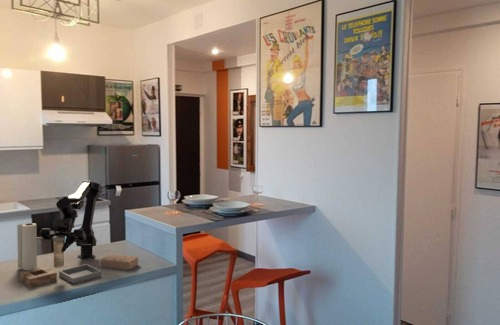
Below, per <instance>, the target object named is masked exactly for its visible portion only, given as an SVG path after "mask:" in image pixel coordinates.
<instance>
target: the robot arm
mask: <svg viewBox="0 0 500 325" xmlns="http://www.w3.org/2000/svg"><path fill="white" fill-rule="evenodd" d="M102 190H103V187H102V185H101V184H100V183H97V182H94V180H82V182H81V184H80V186H79V187H78V188H77V190H76V191H75V192H74V193H73V194H69V195H68V196H63V197H62V198H60V199H59V200H58V201H57V202H56V204H55V206H56V208H57V210H58V211H59V212H60V214H61V215H62V217H61V219H60V218H54V220H53V226H52V227H54V228H55V230H52V229H51V228H47V227H45V228H41V229H40V230H39V235H40V236H41V238H42V239H43V240H46V241H47V240H48V241H50V244H51V245H50V246H51V252H52V253H54V241H53V237H54V236H65V239H64V240H65V241H64V246H63V248H62V252H64V253H65V251H66V250H68V248H69V247H70V246H72V244H74V243H75V245H76V247H80V254H79V255H77V258H80V259H82V260H88V259H91V258H92V257H93V258H95V257H96V255H94V254H93V253H94V252H93V248H94V247H96V246H97V238H96V236H95V230H94V229H93V222H94V215H95V209H96V203H97V200H98V199H99V198H100V196H101V193H102ZM85 198H86V201H85V202H84V199H85ZM84 204H85V206H84ZM83 207H84V214H83V219H82V224H81V227H79V228H78V229H74V228H75V222H76V219H77V218H78V216H79V215H78V211H77V210H81V209H82V208H83ZM72 230H73V231H72Z"/></svg>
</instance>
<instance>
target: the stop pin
mask: <svg viewBox="0 0 500 325" xmlns="http://www.w3.org/2000/svg"><path fill="white" fill-rule="evenodd" d="M64 240H66V236H54V237H53V241H54V252H53V268H56V269H57V268H63V267H65V251H64V252H62V248H63V246H64V243H65V241H64Z"/></svg>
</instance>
